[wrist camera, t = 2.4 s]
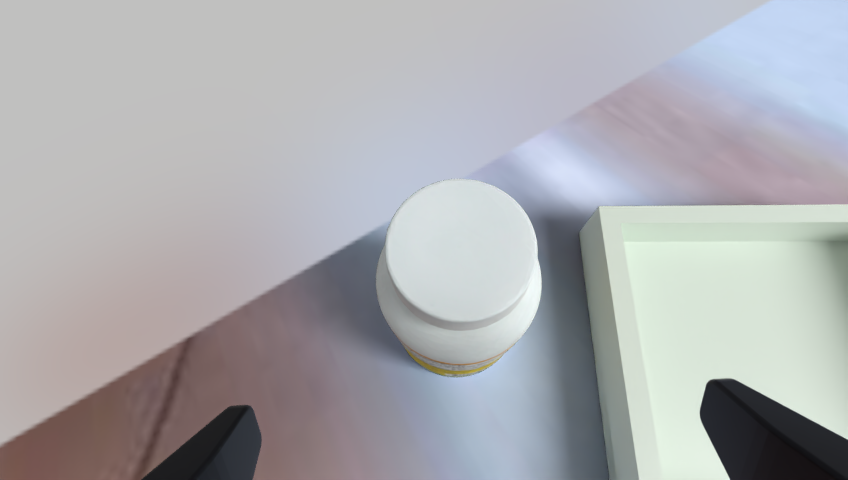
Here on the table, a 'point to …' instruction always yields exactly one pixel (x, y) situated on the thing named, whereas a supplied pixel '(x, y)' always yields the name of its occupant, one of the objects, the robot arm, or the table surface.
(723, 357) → the tray
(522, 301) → the supplement bottle
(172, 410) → the table surface
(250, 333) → the table surface
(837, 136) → the table surface
